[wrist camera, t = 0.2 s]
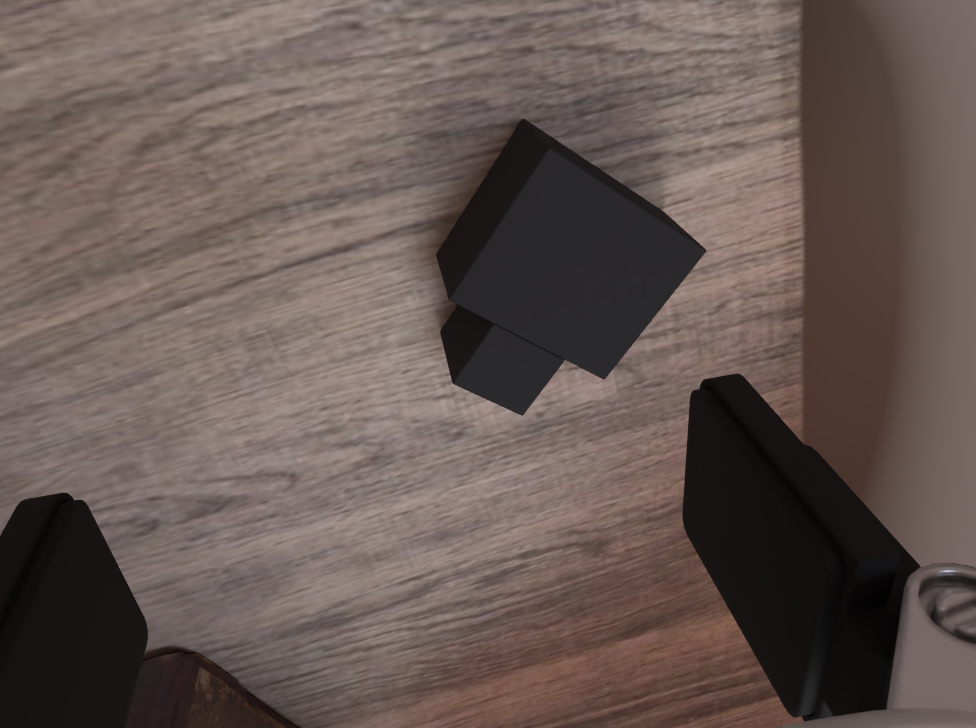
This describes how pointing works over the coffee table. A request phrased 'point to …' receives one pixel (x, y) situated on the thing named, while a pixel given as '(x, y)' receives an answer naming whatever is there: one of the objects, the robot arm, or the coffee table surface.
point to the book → (194, 697)
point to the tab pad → (553, 271)
